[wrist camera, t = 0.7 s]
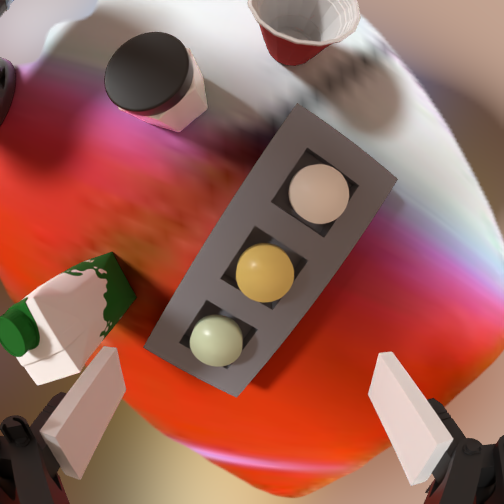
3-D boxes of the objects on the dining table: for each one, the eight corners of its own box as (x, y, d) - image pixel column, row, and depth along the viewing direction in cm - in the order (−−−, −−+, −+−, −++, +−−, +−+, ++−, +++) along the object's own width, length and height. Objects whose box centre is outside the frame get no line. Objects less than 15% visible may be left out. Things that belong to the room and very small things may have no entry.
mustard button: (226, 277, 34) (224, 283, 32) (256, 232, 33) (256, 235, 31) (271, 304, 35) (272, 312, 33) (302, 261, 33) (305, 267, 31)
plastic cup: (336, 25, 31) (365, -20, 19) (325, 92, 33) (356, 59, 22) (256, 6, 30) (259, -46, 19) (239, 72, 33) (235, 30, 21)
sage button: (184, 342, 36) (180, 350, 34) (208, 305, 35) (205, 312, 33) (226, 365, 37) (225, 374, 35) (252, 330, 35) (252, 339, 33)
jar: (183, 56, 32) (158, 13, 20) (223, 98, 34) (211, 65, 22) (129, 101, 33) (85, 77, 22) (166, 145, 35) (131, 133, 23)
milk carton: (114, 242, 38) (19, 297, 18) (145, 301, 40) (79, 391, 20) (70, 268, 39) (-22, 327, 19) (100, 321, 41) (28, 403, 21)
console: (153, 329, 41) (143, 347, 36) (290, 112, 34) (297, 103, 29) (237, 376, 43) (236, 397, 38) (380, 178, 36) (397, 179, 31)
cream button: (277, 200, 32) (279, 202, 30) (308, 153, 31) (312, 152, 29) (323, 231, 33) (327, 235, 31) (353, 186, 31) (359, 187, 29)
